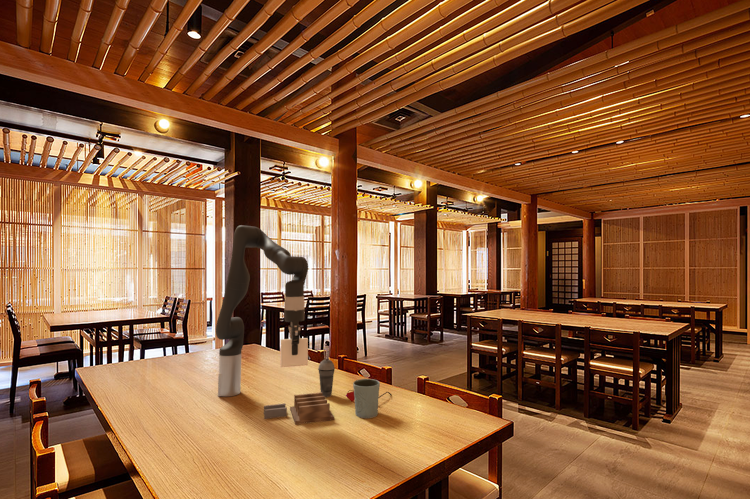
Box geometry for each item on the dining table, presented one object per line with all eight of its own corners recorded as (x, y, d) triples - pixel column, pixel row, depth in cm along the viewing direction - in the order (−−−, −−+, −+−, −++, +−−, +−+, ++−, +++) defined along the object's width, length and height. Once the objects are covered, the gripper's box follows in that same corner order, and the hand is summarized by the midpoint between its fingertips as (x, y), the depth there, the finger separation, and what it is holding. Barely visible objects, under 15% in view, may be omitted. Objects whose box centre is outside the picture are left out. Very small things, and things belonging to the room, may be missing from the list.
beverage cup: (331, 398, 165) (332, 351, 166) (315, 397, 167) (316, 350, 168) (336, 393, 172) (337, 348, 173) (321, 392, 174) (321, 347, 175)
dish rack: (295, 424, 138) (295, 408, 138) (290, 409, 152) (290, 395, 153) (333, 419, 143) (334, 404, 143) (325, 405, 157) (325, 391, 157)
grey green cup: (382, 411, 151) (383, 380, 152) (374, 420, 142) (374, 387, 142) (358, 408, 155) (358, 377, 155) (348, 417, 145) (349, 384, 146)
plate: (280, 367, 145) (281, 340, 146) (280, 366, 147) (280, 339, 148) (307, 365, 148) (307, 338, 149) (307, 364, 150) (307, 337, 151)
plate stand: (264, 418, 143) (264, 410, 143) (263, 413, 148) (263, 405, 148) (286, 416, 146) (286, 408, 146) (285, 411, 151) (285, 403, 151)
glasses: (345, 401, 163) (345, 389, 164) (364, 390, 178) (364, 379, 178) (374, 407, 157) (374, 394, 157) (391, 395, 172) (391, 384, 172)
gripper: (282, 307, 154) (282, 351, 153) (286, 310, 141) (286, 358, 140) (302, 306, 156) (301, 350, 155) (306, 309, 143) (306, 357, 142)
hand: (294, 354), depth 148 cm, fingers closed on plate, 2 cm apart
